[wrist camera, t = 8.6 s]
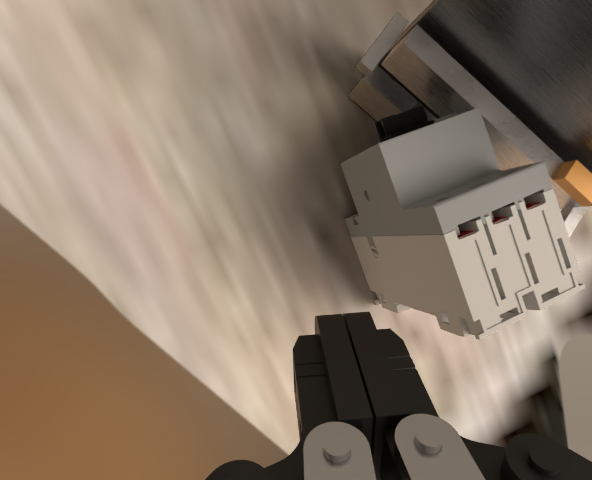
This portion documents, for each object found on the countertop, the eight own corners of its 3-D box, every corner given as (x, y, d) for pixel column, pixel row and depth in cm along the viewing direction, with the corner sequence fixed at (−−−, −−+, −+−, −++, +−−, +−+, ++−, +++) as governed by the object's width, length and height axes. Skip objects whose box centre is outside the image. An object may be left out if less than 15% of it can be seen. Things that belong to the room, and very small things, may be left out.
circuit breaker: (394, 125, 39) (511, 58, 25) (446, 273, 40) (586, 292, 26) (319, 152, 38) (396, 97, 23) (375, 304, 39) (481, 343, 24)
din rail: (348, 96, 38) (410, 35, 27) (358, 82, 38) (424, 16, 27) (486, 214, 41) (594, 205, 30) (495, 201, 41) (606, 187, 30)
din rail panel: (321, 104, 38) (569, -171, 12) (362, 49, 39) (676, -315, 13) (483, 242, 41) (938, 245, 16) (518, 188, 42) (1004, 111, 17)
